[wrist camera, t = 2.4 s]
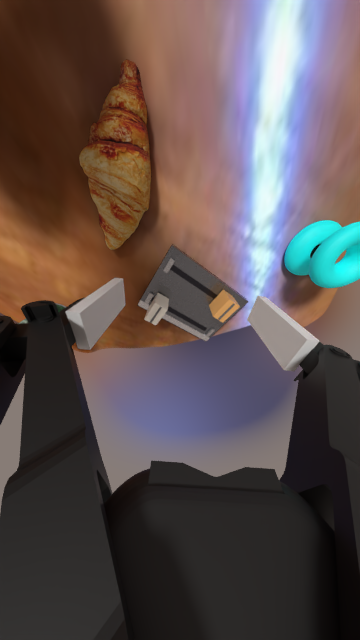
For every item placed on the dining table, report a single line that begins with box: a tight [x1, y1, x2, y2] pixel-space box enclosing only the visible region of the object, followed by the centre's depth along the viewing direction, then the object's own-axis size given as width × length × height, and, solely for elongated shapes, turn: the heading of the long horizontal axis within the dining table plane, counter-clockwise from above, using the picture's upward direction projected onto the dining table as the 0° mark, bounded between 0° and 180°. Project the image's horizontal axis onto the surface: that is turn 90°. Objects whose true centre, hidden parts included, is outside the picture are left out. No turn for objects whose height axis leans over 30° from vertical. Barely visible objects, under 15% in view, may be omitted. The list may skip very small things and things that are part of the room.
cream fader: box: [144, 293, 169, 325], centre depth 32 cm, size 3×5×5 cm, turn 146°
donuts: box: [284, 220, 360, 288], centre depth 26 cm, size 10×10×10 cm
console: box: [138, 244, 248, 341], centre depth 36 cm, size 22×16×3 cm
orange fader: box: [209, 289, 240, 322], centre depth 32 cm, size 3×5×5 cm, turn 146°
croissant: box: [79, 59, 151, 250], centre depth 22 cm, size 21×10×8 cm, turn 159°
